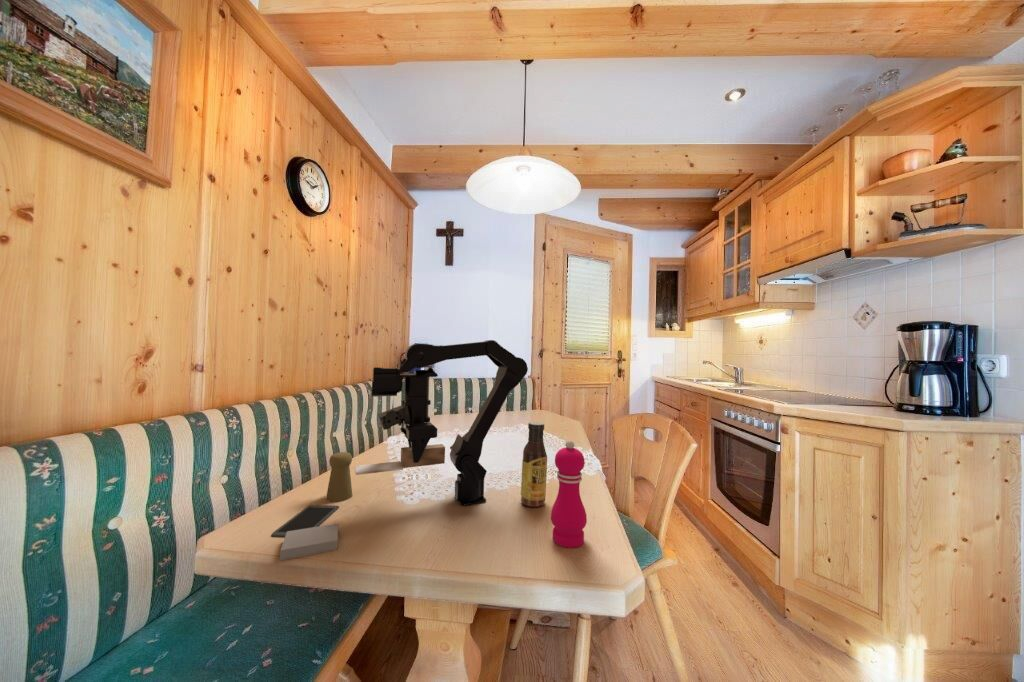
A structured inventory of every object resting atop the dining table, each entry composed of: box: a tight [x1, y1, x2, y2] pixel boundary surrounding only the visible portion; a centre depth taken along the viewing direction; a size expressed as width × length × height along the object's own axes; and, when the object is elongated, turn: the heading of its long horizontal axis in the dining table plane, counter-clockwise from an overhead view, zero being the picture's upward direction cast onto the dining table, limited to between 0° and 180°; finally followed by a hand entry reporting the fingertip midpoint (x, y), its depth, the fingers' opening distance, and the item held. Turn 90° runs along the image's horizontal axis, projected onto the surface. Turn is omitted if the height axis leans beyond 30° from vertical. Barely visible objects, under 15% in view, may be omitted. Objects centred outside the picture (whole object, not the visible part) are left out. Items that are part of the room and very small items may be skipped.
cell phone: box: [271, 504, 340, 538], centre depth 77 cm, size 7×14×1 cm, turn 0°
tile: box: [279, 523, 339, 561], centre depth 67 cm, size 2×7×9 cm
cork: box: [325, 451, 353, 503], centre depth 89 cm, size 6×6×11 cm
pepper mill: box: [550, 439, 588, 549], centre depth 72 cm, size 7×7×20 cm
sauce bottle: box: [520, 421, 548, 508], centre depth 89 cm, size 7×6×20 cm
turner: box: [354, 443, 446, 476], centre depth 83 cm, size 20×5×4 cm, turn 116°
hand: (414, 460), depth 85 cm, fingers closed on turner, 3 cm apart
